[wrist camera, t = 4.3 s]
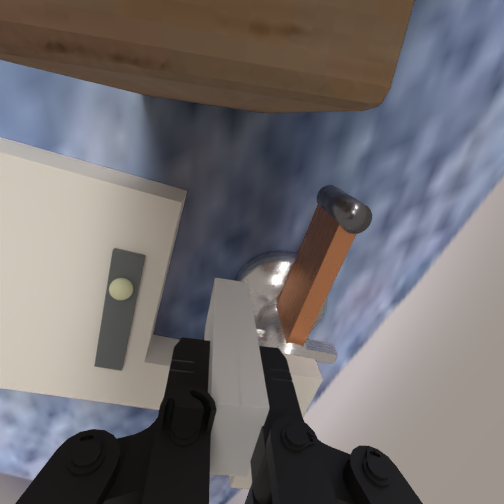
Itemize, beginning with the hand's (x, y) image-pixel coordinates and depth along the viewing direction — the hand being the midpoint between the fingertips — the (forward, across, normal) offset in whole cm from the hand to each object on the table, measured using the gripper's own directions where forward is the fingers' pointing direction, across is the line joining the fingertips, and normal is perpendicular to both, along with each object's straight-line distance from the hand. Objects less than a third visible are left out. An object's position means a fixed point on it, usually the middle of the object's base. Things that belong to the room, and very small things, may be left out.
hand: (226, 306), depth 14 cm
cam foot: (+15, +7, -4) cm, 17 cm away
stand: (+15, -4, -10) cm, 19 cm away
